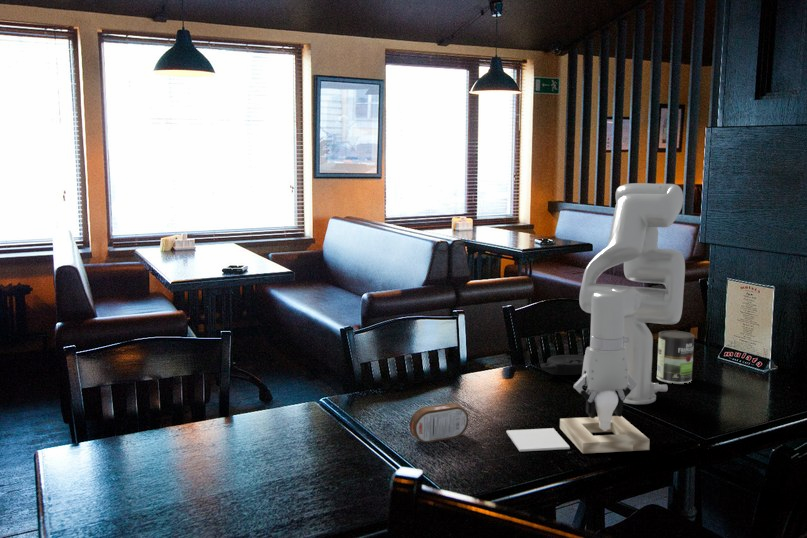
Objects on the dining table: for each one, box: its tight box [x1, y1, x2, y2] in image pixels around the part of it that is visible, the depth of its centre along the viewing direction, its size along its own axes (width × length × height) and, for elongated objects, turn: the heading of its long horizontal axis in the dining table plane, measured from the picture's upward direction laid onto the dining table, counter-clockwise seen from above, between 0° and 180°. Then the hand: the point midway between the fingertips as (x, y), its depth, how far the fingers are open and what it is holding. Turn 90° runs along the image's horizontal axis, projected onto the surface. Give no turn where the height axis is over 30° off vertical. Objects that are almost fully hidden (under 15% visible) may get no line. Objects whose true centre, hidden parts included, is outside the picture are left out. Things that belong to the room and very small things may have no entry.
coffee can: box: [656, 330, 695, 385], centre depth 223 cm, size 10×10×14 cm
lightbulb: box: [593, 390, 618, 431], centre depth 177 cm, size 6×6×11 cm
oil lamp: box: [539, 354, 585, 376], centre depth 230 cm, size 15×20×5 cm
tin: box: [409, 402, 470, 444], centre depth 177 cm, size 15×3×8 cm, turn 114°
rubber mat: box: [506, 427, 571, 452], centre depth 176 cm, size 12×12×1 cm
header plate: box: [559, 415, 650, 454], centre depth 177 cm, size 16×16×2 cm
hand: (604, 414), depth 177 cm, fingers closed on lightbulb, 6 cm apart
